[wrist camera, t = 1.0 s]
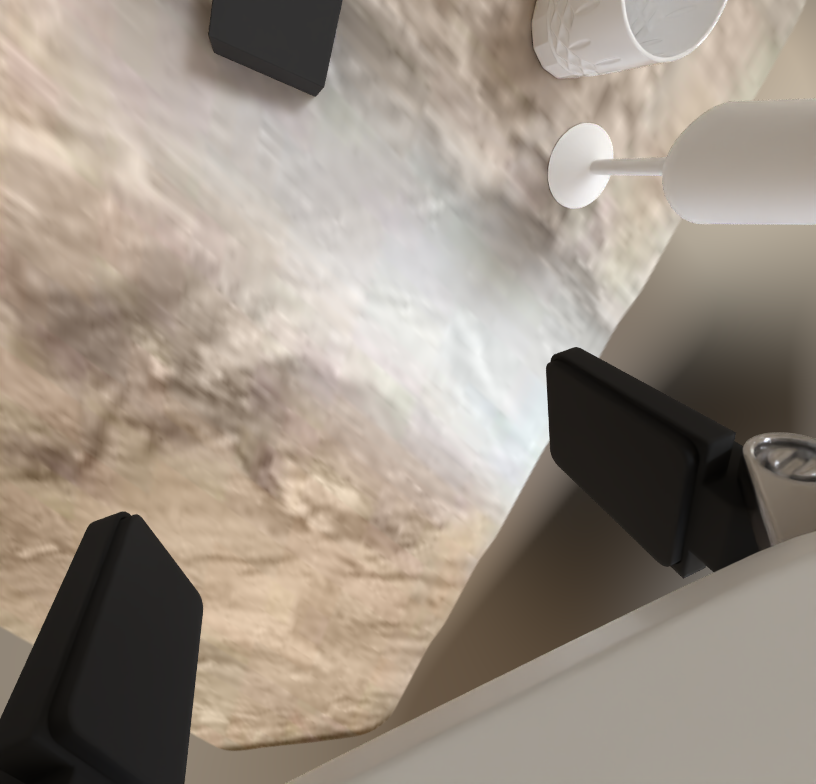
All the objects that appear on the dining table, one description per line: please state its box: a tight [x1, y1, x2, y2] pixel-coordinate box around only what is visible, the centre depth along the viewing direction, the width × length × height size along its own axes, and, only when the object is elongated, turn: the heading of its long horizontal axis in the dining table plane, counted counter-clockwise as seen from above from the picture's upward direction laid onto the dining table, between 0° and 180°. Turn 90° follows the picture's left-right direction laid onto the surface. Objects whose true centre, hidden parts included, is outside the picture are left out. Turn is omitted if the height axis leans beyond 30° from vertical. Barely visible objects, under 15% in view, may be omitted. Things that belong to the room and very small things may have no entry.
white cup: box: [532, 0, 727, 78], centre depth 28 cm, size 8×8×10 cm
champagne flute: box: [548, 99, 816, 225], centre depth 28 cm, size 7×7×24 cm
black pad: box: [208, 0, 342, 97], centre depth 26 cm, size 6×6×4 cm
